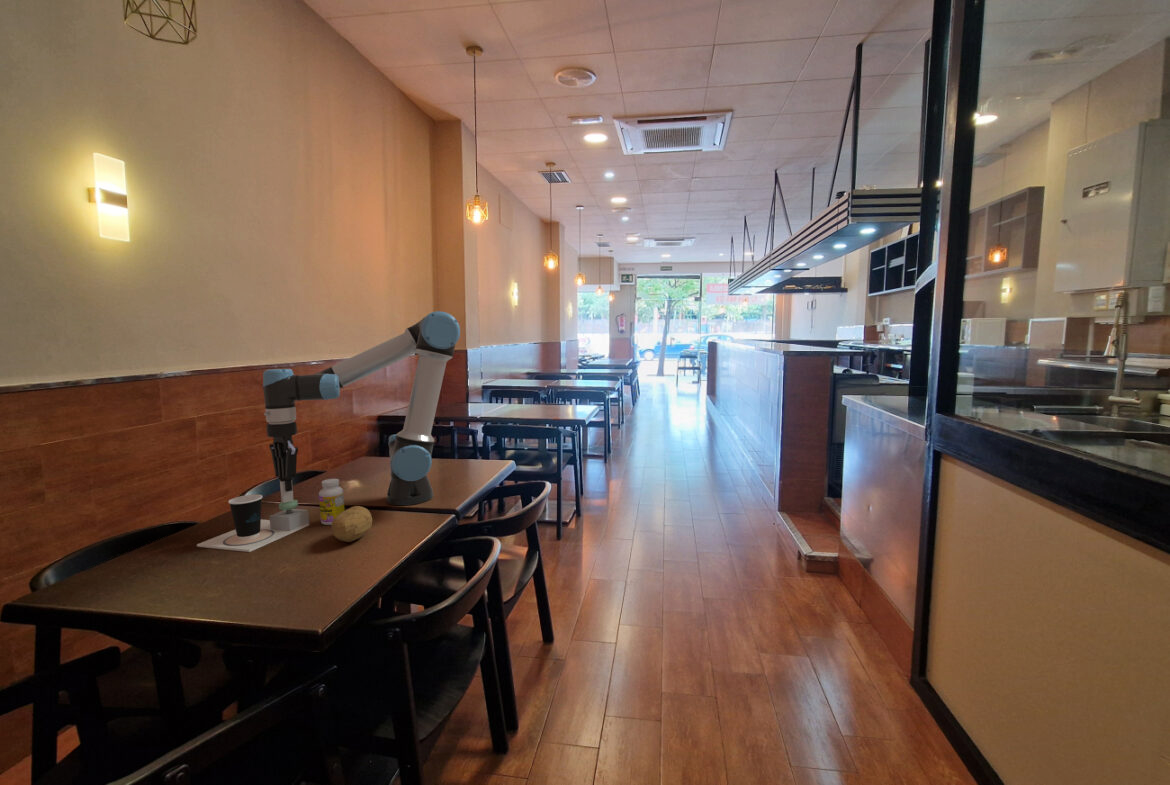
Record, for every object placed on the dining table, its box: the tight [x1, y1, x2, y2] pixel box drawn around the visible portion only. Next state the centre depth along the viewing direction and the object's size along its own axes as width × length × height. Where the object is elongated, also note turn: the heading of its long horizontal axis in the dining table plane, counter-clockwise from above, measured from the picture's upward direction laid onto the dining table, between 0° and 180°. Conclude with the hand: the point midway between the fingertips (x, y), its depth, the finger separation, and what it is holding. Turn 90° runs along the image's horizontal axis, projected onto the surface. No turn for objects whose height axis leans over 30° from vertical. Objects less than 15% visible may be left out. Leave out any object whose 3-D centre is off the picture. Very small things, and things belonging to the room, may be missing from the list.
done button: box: [278, 499, 299, 514], centre depth 149 cm, size 5×5×6 cm
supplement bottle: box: [318, 478, 346, 526], centre depth 153 cm, size 7×7×13 cm
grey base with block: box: [196, 508, 310, 553], centre depth 144 cm, size 18×20×5 cm
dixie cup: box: [228, 493, 263, 540], centre depth 141 cm, size 8×8×11 cm
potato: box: [330, 505, 373, 543], centre depth 139 cm, size 10×14×8 cm
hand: (287, 501), depth 149 cm, fingers closed
